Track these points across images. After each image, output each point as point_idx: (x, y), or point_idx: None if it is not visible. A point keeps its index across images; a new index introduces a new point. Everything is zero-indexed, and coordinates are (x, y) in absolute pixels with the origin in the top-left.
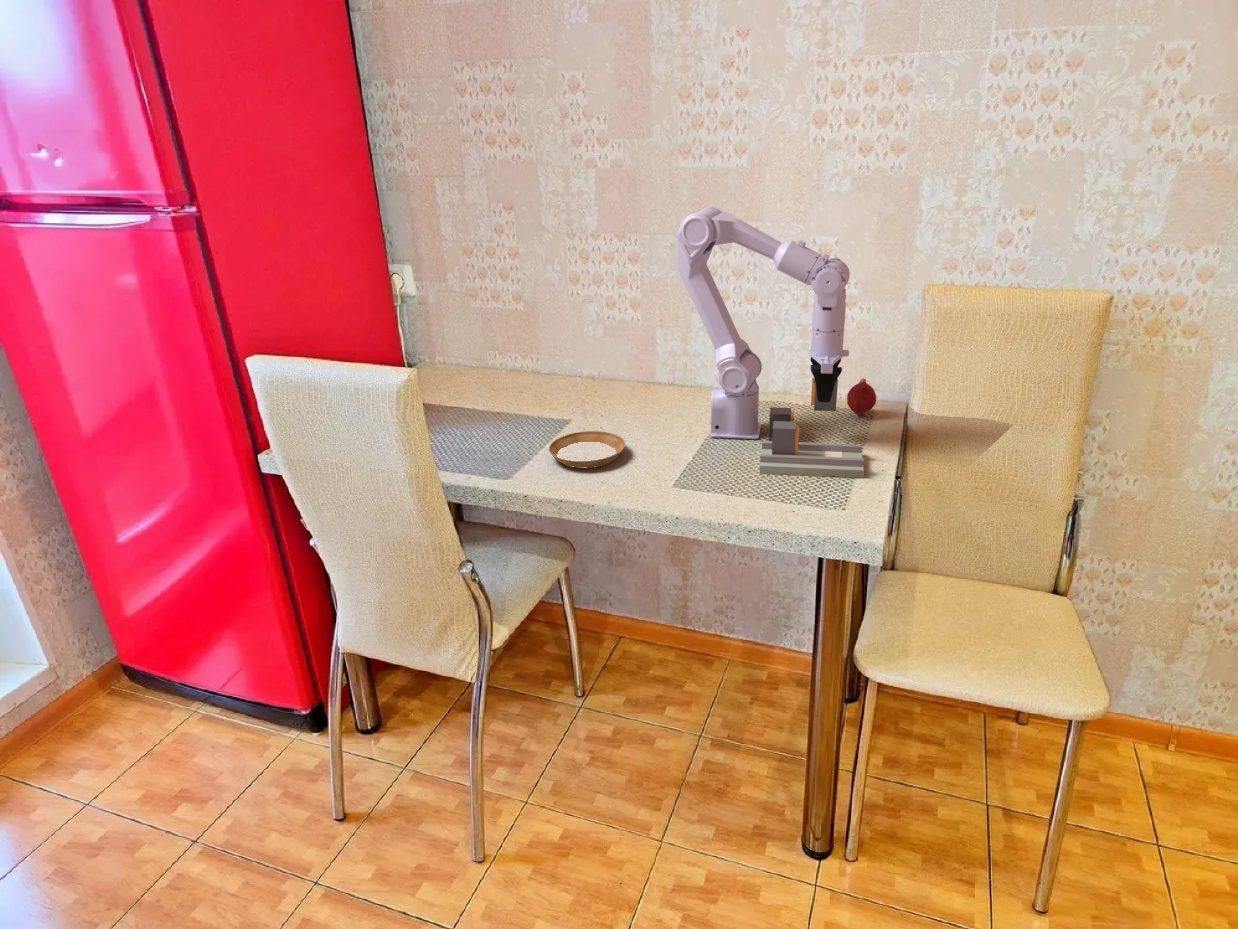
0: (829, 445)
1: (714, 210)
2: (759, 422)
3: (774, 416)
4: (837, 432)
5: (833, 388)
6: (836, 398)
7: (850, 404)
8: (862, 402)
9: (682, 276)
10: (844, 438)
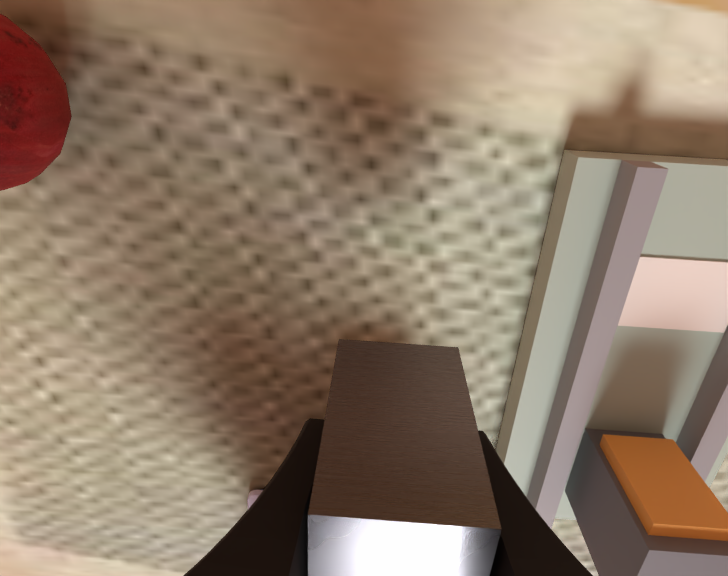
0: (617, 322)
1: None
2: (251, 498)
3: None
4: (289, 228)
5: (535, 510)
6: (470, 405)
7: (44, 169)
8: (41, 103)
9: None
10: (360, 203)
